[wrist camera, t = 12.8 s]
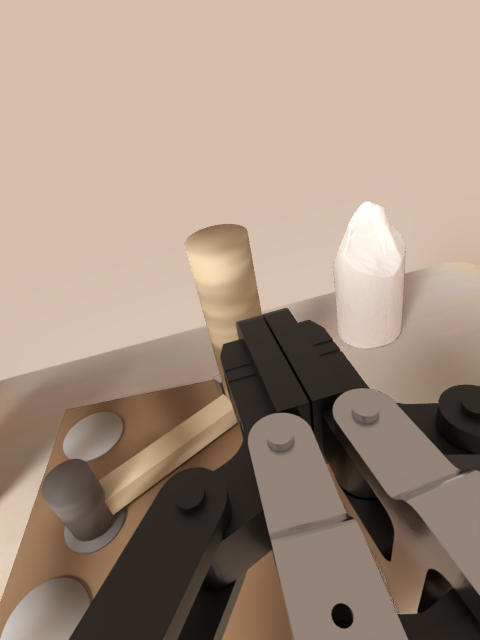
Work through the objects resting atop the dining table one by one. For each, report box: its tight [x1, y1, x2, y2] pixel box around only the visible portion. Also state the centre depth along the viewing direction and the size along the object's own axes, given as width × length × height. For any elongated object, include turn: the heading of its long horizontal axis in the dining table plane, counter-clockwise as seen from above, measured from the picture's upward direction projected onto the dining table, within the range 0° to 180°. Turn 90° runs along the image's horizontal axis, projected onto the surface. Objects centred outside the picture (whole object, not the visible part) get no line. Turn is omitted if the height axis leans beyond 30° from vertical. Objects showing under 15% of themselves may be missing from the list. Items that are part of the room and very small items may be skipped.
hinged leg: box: [41, 224, 262, 541], centre depth 23 cm, size 16×4×13 cm, turn 129°
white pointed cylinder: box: [333, 201, 405, 349], centre depth 35 cm, size 6×12×6 cm
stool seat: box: [0, 380, 345, 640], centre depth 26 cm, size 19×19×2 cm
